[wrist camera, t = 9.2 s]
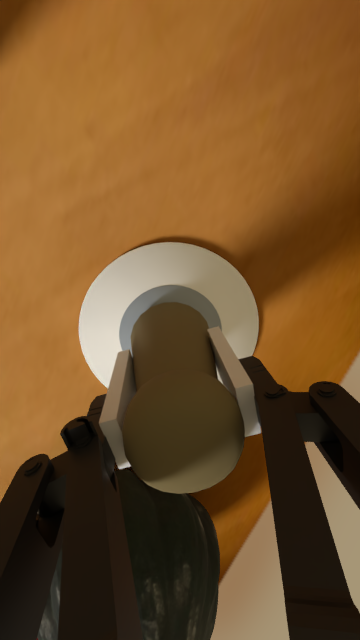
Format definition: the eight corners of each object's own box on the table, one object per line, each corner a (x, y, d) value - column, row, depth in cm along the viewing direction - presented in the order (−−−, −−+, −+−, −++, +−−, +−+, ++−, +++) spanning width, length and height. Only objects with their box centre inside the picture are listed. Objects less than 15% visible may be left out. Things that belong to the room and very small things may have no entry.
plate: (41, 308, 20) (37, 310, 20) (202, 201, 19) (204, 201, 18) (146, 429, 25) (146, 435, 24) (283, 353, 23) (286, 357, 23)
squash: (-27, 567, 22) (26, 894, 14) (94, 446, 19) (237, 761, 12) (100, 508, 34) (166, 666, 26) (184, 430, 31) (283, 578, 24)
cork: (225, 321, 20) (297, 426, 10) (188, 385, 22) (218, 532, 12) (150, 288, 19) (146, 370, 9) (117, 359, 21) (81, 498, 10)
